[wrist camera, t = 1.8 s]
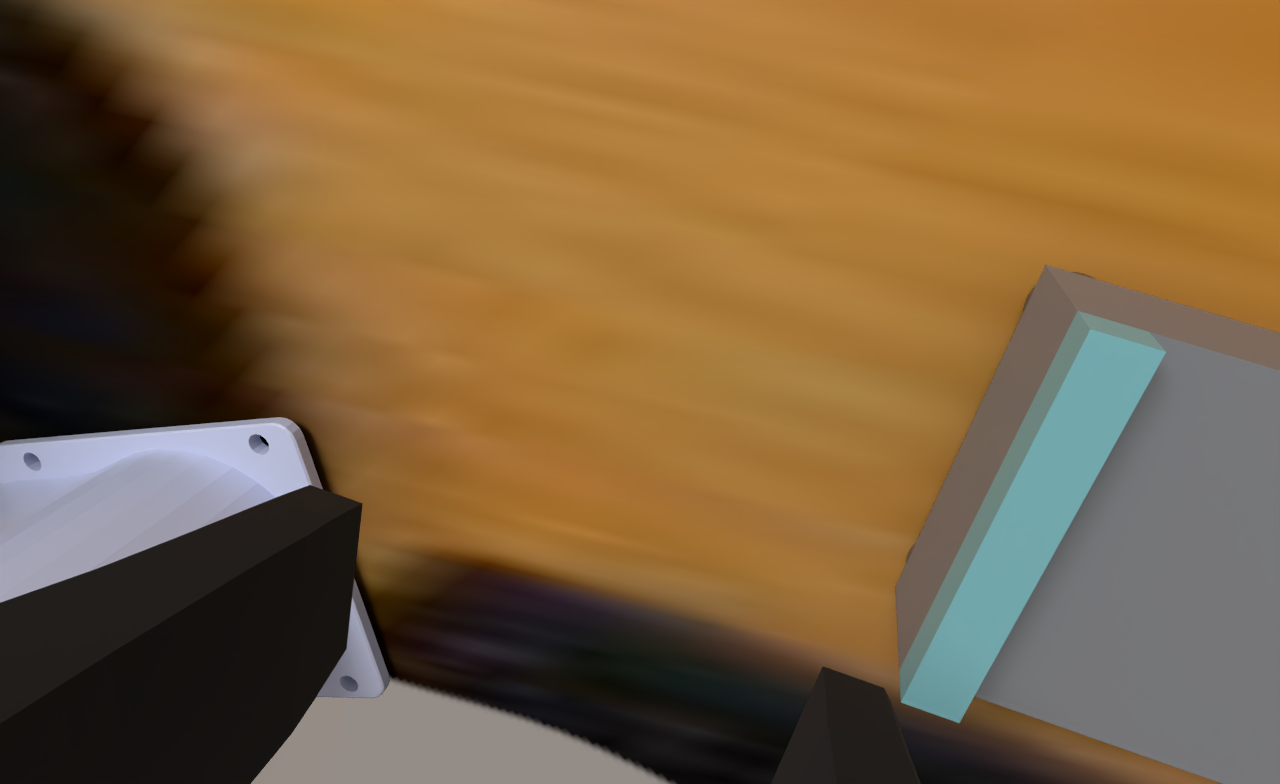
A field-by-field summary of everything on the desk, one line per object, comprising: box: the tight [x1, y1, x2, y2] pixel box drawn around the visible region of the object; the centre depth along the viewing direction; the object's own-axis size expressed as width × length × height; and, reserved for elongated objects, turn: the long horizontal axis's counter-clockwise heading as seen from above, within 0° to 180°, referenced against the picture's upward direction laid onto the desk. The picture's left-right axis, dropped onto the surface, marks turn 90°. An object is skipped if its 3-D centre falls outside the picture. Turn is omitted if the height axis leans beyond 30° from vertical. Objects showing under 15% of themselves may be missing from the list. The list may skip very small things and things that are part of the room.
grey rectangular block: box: [895, 265, 1280, 784], centre depth 14 cm, size 10×7×4 cm
